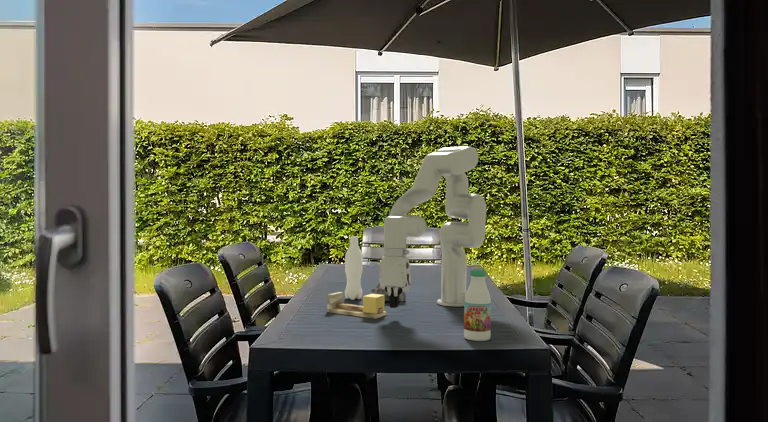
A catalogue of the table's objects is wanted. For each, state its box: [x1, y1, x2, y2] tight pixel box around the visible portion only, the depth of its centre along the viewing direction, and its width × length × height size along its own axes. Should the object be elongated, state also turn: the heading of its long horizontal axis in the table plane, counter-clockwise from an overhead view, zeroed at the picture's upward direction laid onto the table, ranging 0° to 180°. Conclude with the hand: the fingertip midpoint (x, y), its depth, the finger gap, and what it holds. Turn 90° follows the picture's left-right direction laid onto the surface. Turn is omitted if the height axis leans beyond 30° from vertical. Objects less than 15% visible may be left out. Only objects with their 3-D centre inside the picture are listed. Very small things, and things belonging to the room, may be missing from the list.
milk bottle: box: [463, 269, 492, 342], centre depth 163 cm, size 8×8×20 cm
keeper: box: [362, 293, 386, 314], centre depth 192 cm, size 5×6×6 cm
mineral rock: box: [370, 283, 407, 303], centre depth 220 cm, size 13×11×10 cm
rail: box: [326, 291, 387, 320], centre depth 196 cm, size 20×7×6 cm, turn 60°
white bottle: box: [344, 235, 364, 301], centre depth 223 cm, size 7×7×25 cm
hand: (394, 307), depth 188 cm, fingers closed
